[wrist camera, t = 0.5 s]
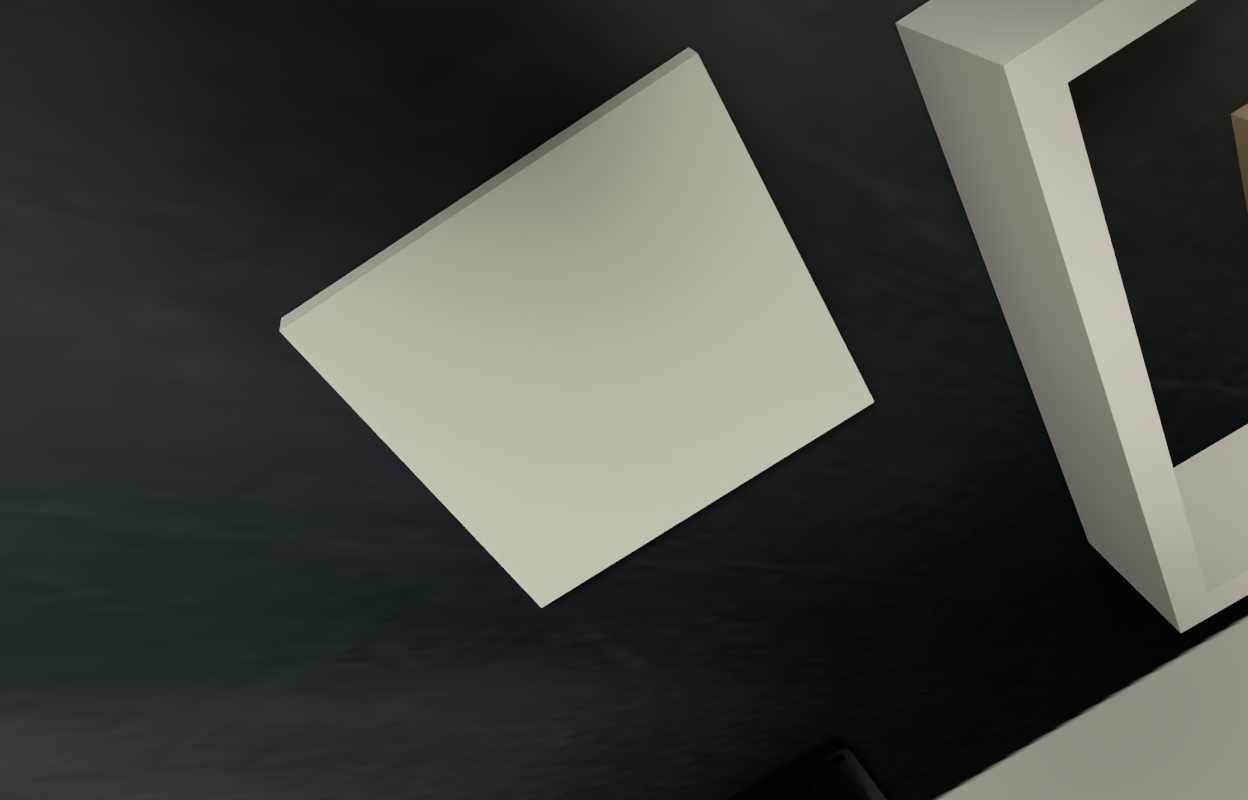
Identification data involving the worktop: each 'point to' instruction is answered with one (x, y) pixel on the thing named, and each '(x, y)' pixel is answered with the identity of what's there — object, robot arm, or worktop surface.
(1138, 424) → the white square frame
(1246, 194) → the maple block
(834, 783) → the robot arm
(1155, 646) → the worktop surface
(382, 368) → the sage mat
